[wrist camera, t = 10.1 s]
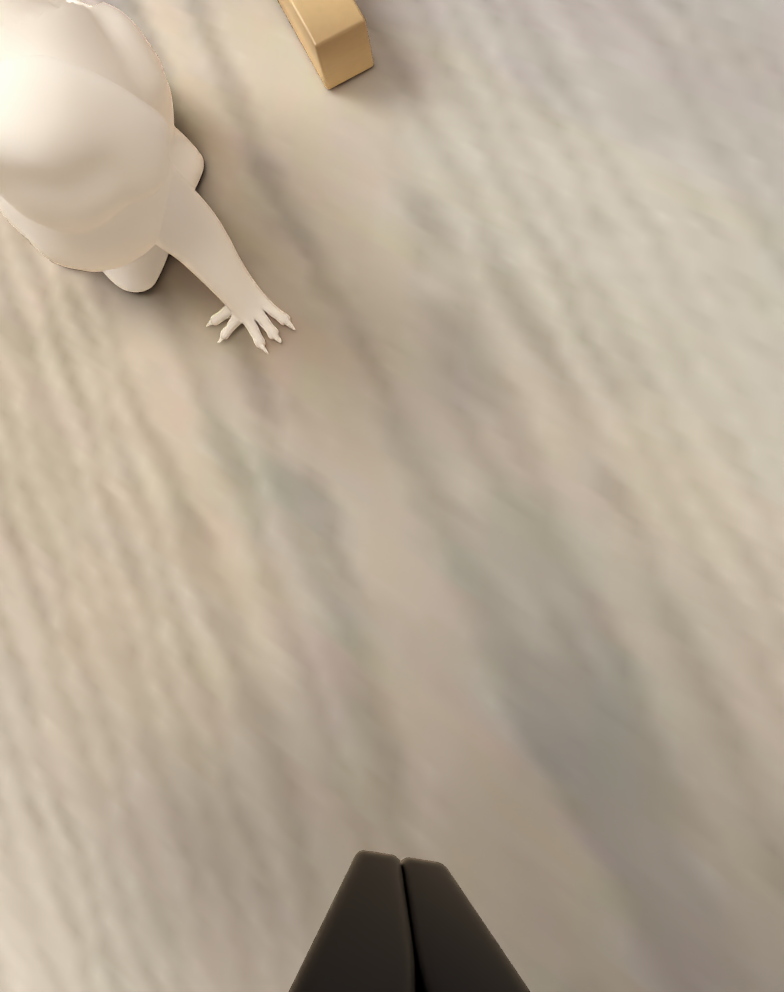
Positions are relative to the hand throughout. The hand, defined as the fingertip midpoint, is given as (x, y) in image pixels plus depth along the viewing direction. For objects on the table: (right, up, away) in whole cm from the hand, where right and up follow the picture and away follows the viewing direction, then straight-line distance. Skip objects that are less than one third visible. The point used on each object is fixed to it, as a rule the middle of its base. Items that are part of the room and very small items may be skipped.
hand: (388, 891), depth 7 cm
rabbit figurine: (-9, +12, +15) cm, 21 cm away
